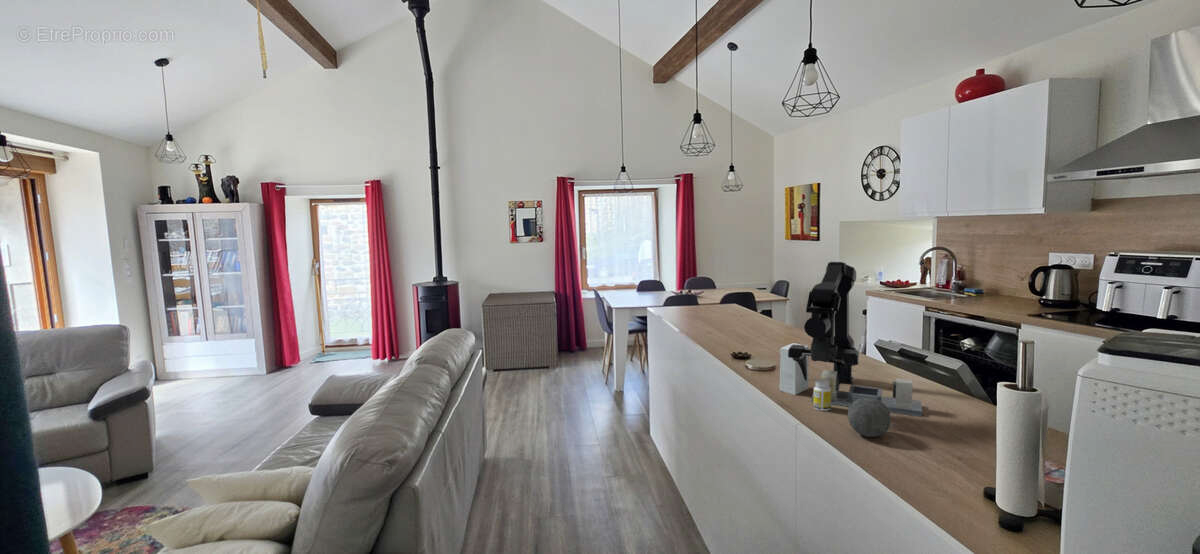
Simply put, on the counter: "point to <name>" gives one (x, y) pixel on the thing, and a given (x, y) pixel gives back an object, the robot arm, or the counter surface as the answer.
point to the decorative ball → (869, 417)
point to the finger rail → (875, 395)
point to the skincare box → (792, 372)
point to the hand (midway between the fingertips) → (822, 382)
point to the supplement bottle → (822, 395)
